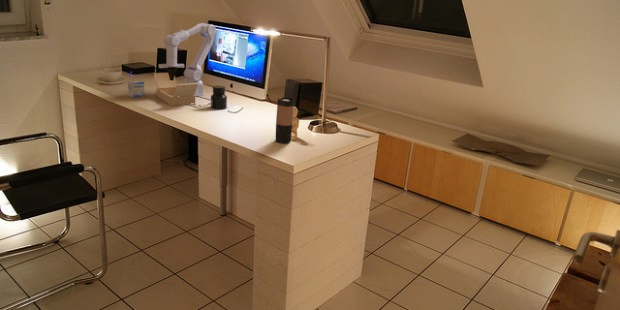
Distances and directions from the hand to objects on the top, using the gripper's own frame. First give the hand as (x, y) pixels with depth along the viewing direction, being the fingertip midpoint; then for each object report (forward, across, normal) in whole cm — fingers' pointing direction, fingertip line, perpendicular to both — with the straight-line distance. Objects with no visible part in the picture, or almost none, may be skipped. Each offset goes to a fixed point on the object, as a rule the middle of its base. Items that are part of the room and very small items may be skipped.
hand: (171, 80), depth 280 cm
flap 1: (+1, 0, +7) cm, 7 cm away
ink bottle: (+10, +16, -29) cm, 35 cm away
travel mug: (+11, +16, -93) cm, 95 cm away
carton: (+10, 0, -7) cm, 12 cm away
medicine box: (+11, -17, +9) cm, 22 cm away
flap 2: (+1, 0, -20) cm, 20 cm away
